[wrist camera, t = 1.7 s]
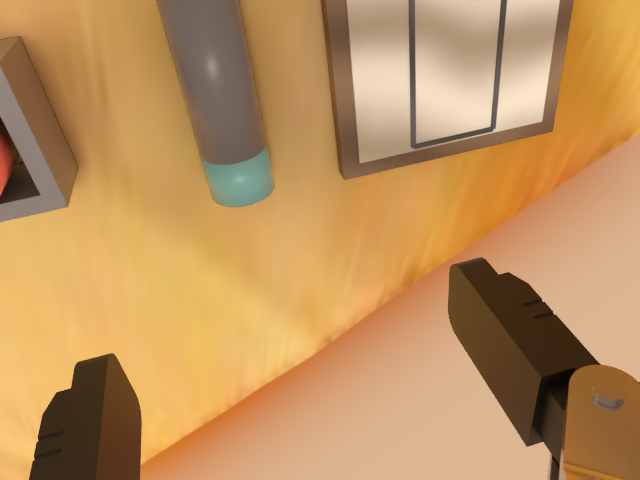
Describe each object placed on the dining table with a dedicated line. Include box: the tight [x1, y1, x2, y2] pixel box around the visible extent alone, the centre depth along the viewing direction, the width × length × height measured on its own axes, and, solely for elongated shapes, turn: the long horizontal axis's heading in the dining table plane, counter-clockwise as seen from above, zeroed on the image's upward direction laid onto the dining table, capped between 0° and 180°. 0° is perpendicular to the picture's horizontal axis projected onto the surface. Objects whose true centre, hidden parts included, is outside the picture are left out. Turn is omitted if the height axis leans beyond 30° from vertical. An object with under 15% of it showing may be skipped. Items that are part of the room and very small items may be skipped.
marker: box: [156, 0, 275, 207], centre depth 27 cm, size 12×4×4 cm, turn 7°
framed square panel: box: [321, 0, 573, 180], centre depth 29 cm, size 15×14×1 cm
